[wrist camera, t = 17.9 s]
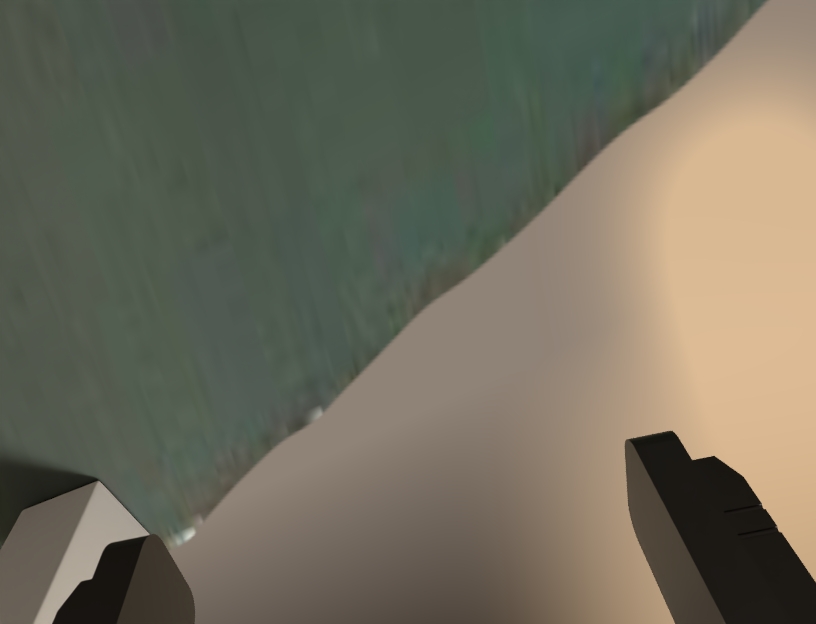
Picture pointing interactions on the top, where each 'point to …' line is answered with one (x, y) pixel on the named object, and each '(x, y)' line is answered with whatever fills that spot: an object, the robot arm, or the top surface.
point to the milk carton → (58, 551)
